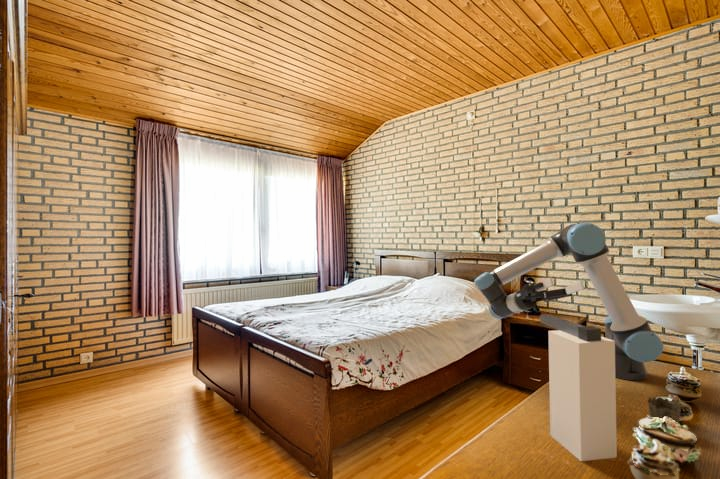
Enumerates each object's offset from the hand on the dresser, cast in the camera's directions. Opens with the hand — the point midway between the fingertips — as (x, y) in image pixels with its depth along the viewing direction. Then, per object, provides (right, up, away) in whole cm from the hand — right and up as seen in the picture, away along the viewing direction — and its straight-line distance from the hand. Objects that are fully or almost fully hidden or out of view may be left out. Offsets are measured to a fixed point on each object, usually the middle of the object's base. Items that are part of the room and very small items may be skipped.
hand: (567, 283), depth 121 cm
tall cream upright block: (-9, -41, -23) cm, 48 cm away
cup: (+19, -41, -16) cm, 48 cm away
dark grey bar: (-11, -11, -18) cm, 24 cm away
